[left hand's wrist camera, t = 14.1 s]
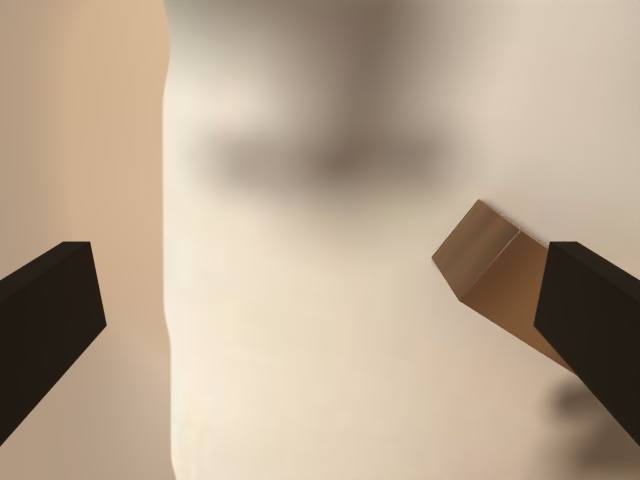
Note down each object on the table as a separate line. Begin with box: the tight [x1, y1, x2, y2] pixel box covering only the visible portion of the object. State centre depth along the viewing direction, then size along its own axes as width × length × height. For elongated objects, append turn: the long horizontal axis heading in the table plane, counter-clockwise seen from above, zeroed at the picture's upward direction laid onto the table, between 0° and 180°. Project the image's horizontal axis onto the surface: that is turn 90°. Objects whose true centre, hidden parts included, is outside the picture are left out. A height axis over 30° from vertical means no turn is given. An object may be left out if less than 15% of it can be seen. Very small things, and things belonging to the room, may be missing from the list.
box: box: [432, 200, 576, 375], centre depth 39 cm, size 24×7×9 cm, turn 57°
